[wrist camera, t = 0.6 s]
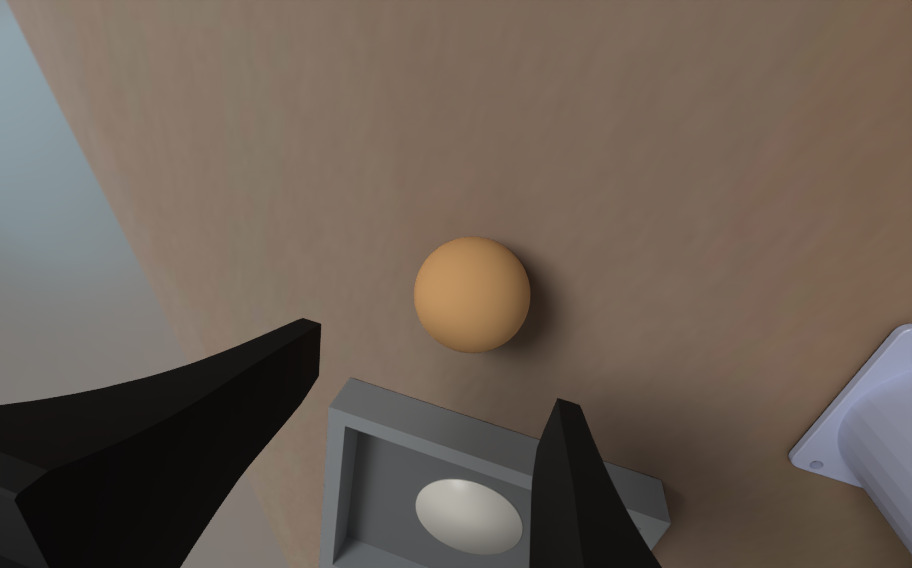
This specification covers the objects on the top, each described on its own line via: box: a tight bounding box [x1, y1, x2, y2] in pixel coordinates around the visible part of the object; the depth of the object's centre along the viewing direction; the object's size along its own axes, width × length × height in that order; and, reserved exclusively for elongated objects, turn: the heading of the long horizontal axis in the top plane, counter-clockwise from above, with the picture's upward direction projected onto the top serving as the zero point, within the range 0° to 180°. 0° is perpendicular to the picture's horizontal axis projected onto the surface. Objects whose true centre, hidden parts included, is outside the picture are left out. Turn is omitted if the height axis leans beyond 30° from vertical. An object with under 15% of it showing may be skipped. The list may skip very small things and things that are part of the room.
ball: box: [414, 237, 530, 353], centre depth 17 cm, size 5×5×5 cm
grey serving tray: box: [319, 378, 671, 568], centre depth 26 cm, size 18×16×2 cm
